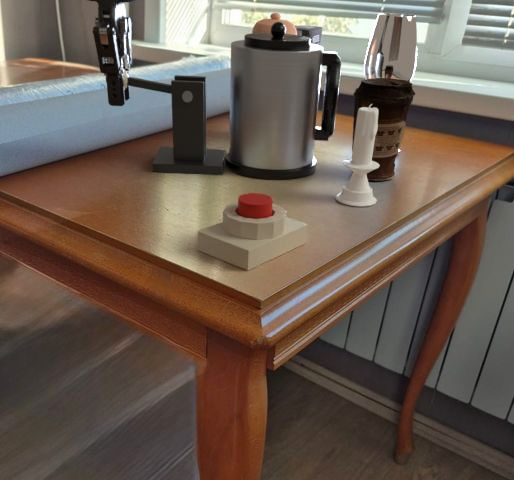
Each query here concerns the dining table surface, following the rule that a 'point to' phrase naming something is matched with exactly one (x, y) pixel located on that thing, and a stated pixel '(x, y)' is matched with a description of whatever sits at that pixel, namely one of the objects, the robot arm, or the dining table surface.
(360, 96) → the coffee cup
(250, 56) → the kettle
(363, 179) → the candle
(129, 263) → the dining table surface
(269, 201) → the power button
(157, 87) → the lever switch
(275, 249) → the power block
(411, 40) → the wineglass
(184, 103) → the switch bracket
